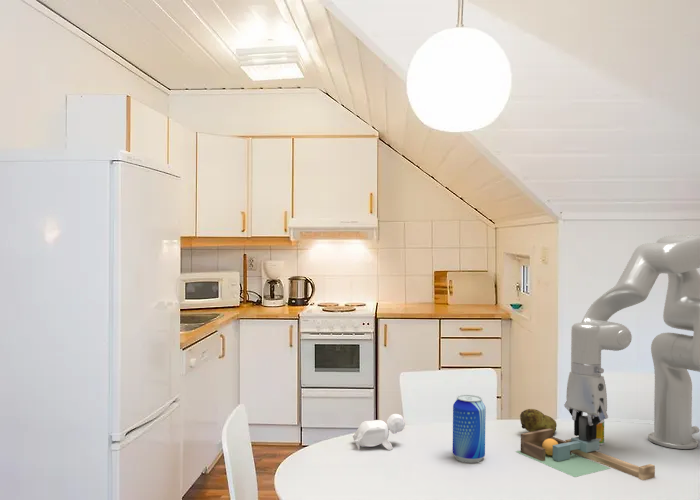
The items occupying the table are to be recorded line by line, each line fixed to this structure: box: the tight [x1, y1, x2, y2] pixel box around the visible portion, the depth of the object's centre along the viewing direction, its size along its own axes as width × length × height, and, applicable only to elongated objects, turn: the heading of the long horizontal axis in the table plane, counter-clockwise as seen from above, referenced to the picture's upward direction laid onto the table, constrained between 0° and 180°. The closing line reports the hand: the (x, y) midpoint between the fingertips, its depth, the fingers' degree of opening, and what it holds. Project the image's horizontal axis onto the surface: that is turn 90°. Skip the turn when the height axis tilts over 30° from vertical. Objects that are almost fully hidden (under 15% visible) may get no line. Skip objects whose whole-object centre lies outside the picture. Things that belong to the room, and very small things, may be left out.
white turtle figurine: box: [351, 413, 406, 451], centre depth 162 cm, size 9×8×15 cm
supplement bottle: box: [585, 412, 605, 446], centre depth 167 cm, size 5×5×10 cm
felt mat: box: [515, 450, 611, 478], centre depth 152 cm, size 13×20×1 cm, turn 28°
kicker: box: [553, 415, 600, 461], centre depth 155 cm, size 14×5×10 cm, turn 118°
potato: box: [519, 408, 558, 434], centre depth 174 cm, size 8×13×8 cm, turn 103°
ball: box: [542, 439, 558, 456], centre depth 156 cm, size 4×4×4 cm
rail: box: [564, 438, 656, 481], centre depth 150 cm, size 4×23×3 cm, turn 28°
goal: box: [520, 428, 573, 461], centre depth 157 cm, size 11×8×5 cm
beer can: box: [452, 394, 487, 464], centre depth 153 cm, size 8×8×16 cm
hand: (585, 436), depth 157 cm, fingers closed on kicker, 3 cm apart
